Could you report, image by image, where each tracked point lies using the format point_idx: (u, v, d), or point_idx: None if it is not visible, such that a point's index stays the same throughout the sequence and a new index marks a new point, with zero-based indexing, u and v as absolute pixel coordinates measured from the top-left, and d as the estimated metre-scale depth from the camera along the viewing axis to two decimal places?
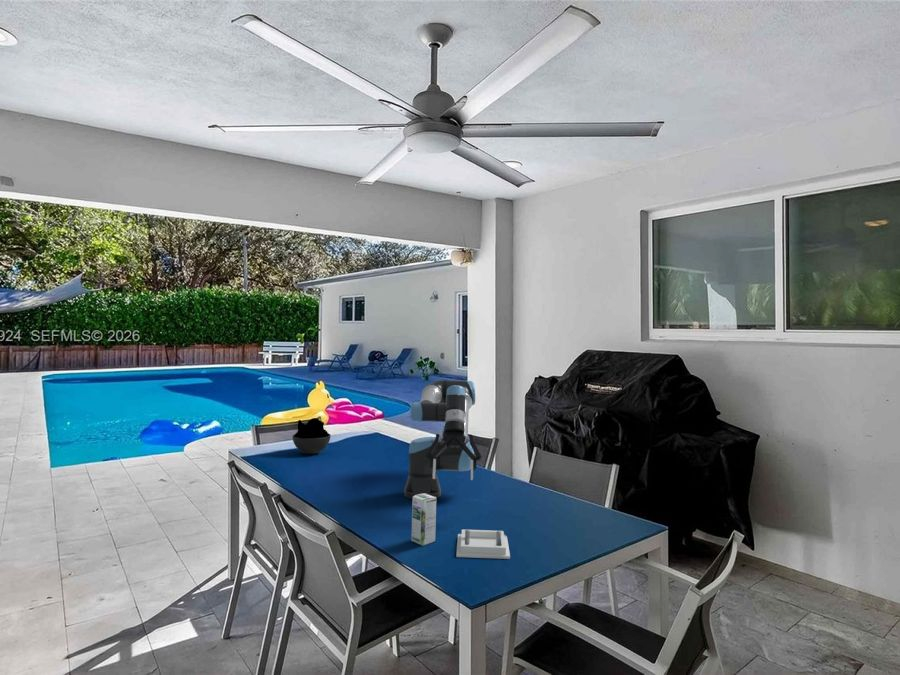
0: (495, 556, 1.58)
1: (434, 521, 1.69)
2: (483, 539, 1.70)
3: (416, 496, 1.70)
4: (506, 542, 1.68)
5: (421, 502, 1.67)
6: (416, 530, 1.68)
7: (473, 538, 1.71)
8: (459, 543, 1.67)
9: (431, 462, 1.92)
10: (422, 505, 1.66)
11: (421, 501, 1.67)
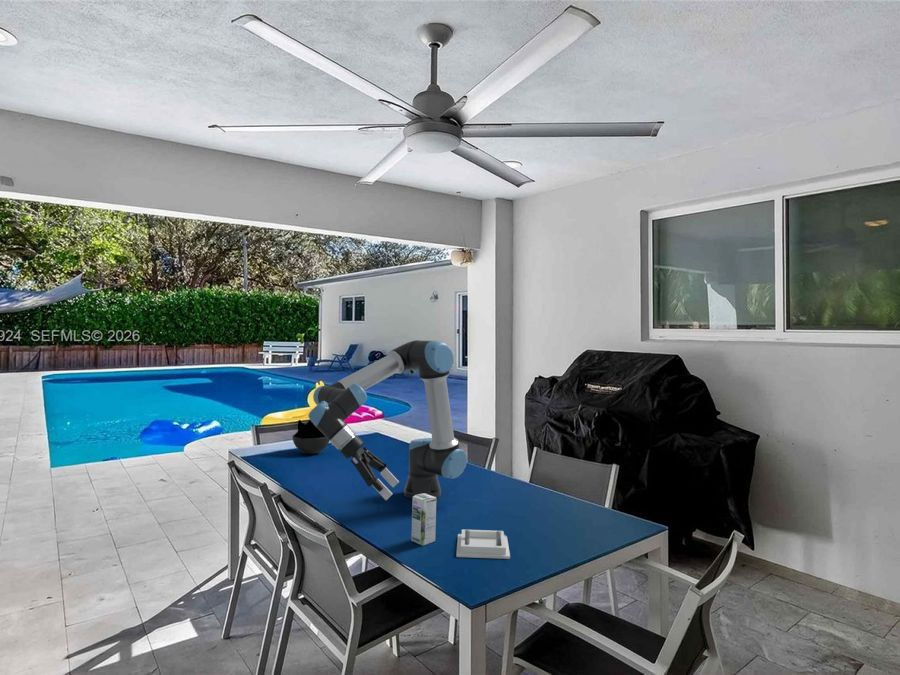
0: (495, 556, 1.58)
1: (434, 521, 1.69)
2: (483, 539, 1.70)
3: (416, 496, 1.70)
4: (506, 542, 1.68)
5: (421, 502, 1.67)
6: (416, 530, 1.68)
7: (473, 538, 1.71)
8: (459, 543, 1.67)
9: None
10: (422, 505, 1.66)
11: (421, 501, 1.67)
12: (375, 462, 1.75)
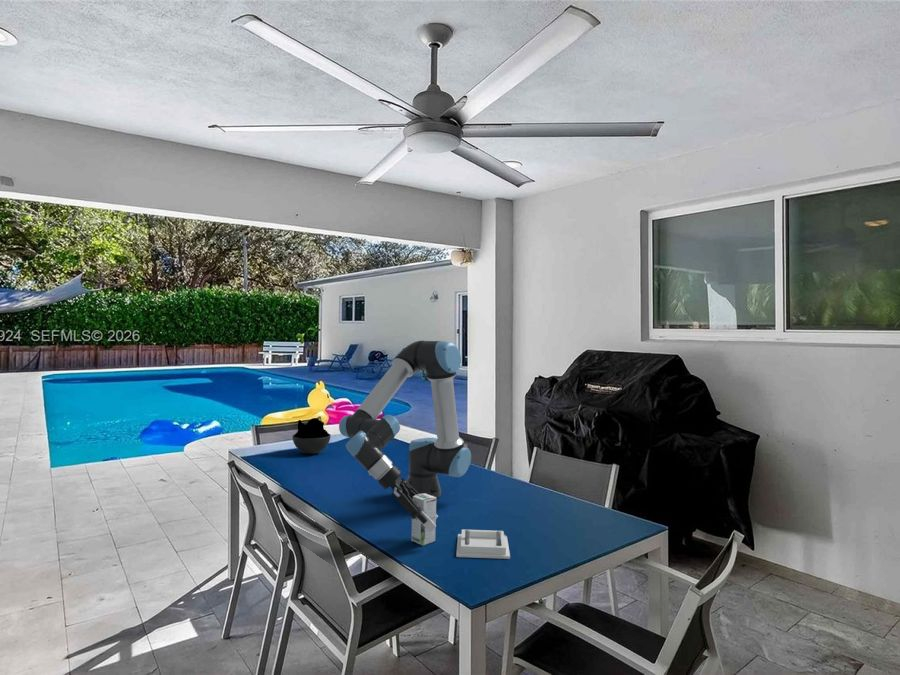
0: (495, 556, 1.58)
1: (434, 521, 1.69)
2: (483, 539, 1.70)
3: (416, 496, 1.70)
4: (506, 542, 1.68)
5: (421, 502, 1.67)
6: (416, 530, 1.68)
7: (473, 538, 1.71)
8: (459, 543, 1.67)
9: None
10: (422, 505, 1.66)
11: (421, 501, 1.67)
12: (413, 494, 1.73)
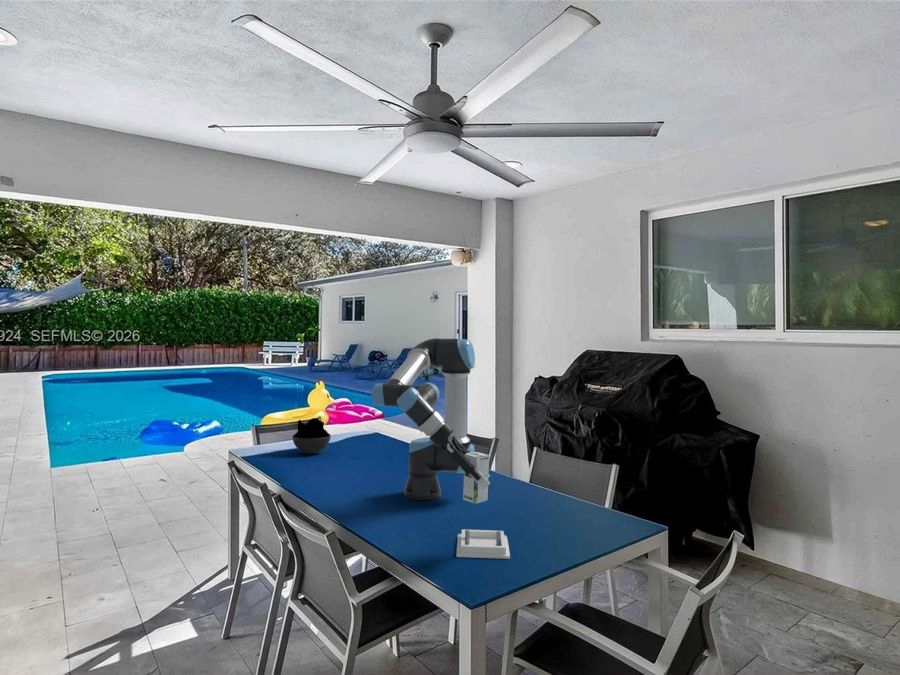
0: (495, 556, 1.58)
1: (487, 479, 1.65)
2: (483, 539, 1.70)
3: (468, 454, 1.65)
4: (506, 542, 1.68)
5: (474, 460, 1.62)
6: (469, 488, 1.64)
7: (473, 538, 1.71)
8: (459, 543, 1.67)
9: None
10: (475, 462, 1.62)
11: (474, 458, 1.62)
12: (464, 452, 1.69)
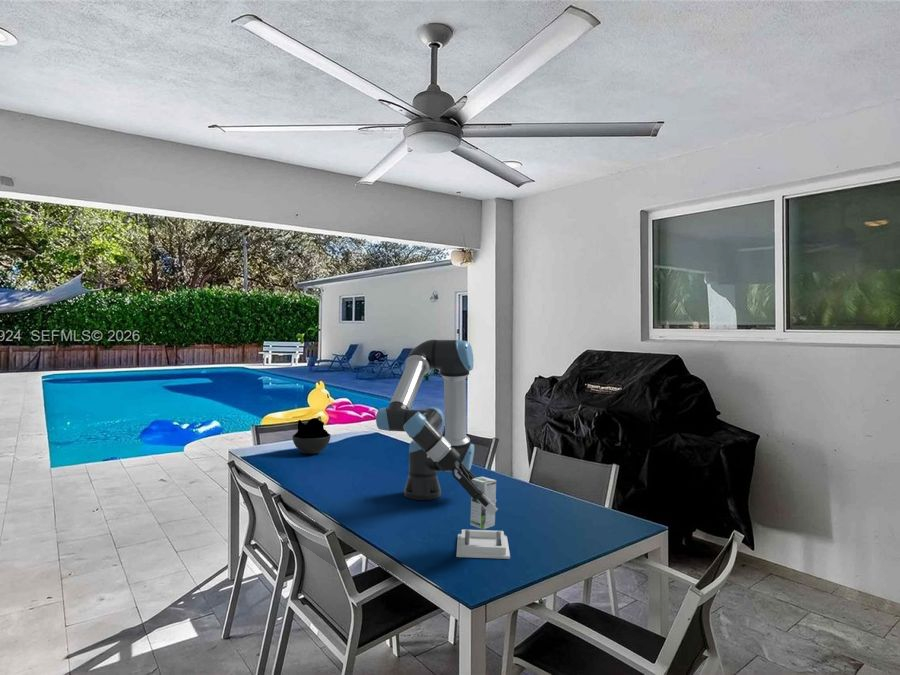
0: (495, 556, 1.58)
1: (494, 505, 1.65)
2: (483, 539, 1.70)
3: (475, 479, 1.65)
4: (506, 542, 1.68)
5: (482, 485, 1.62)
6: (476, 514, 1.63)
7: (473, 538, 1.71)
8: (459, 543, 1.67)
9: None
10: (483, 488, 1.62)
11: (481, 484, 1.62)
12: (471, 477, 1.69)
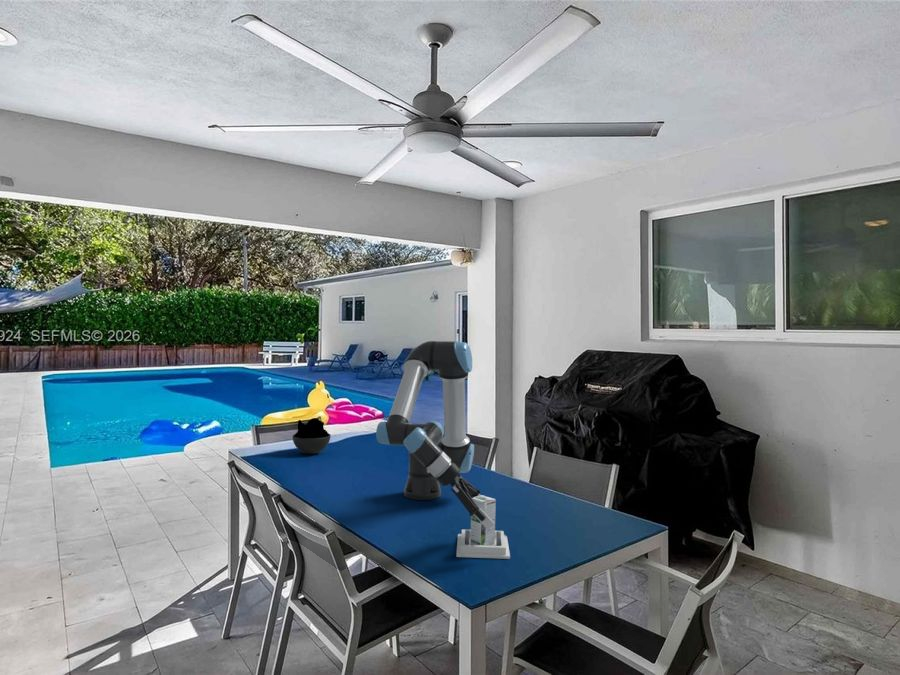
0: (495, 556, 1.58)
1: None
2: None
3: (475, 498, 1.66)
4: (506, 542, 1.68)
5: (482, 505, 1.63)
6: (476, 533, 1.64)
7: None
8: (459, 543, 1.67)
9: None
10: (482, 507, 1.63)
11: (481, 503, 1.63)
12: (470, 489, 1.71)
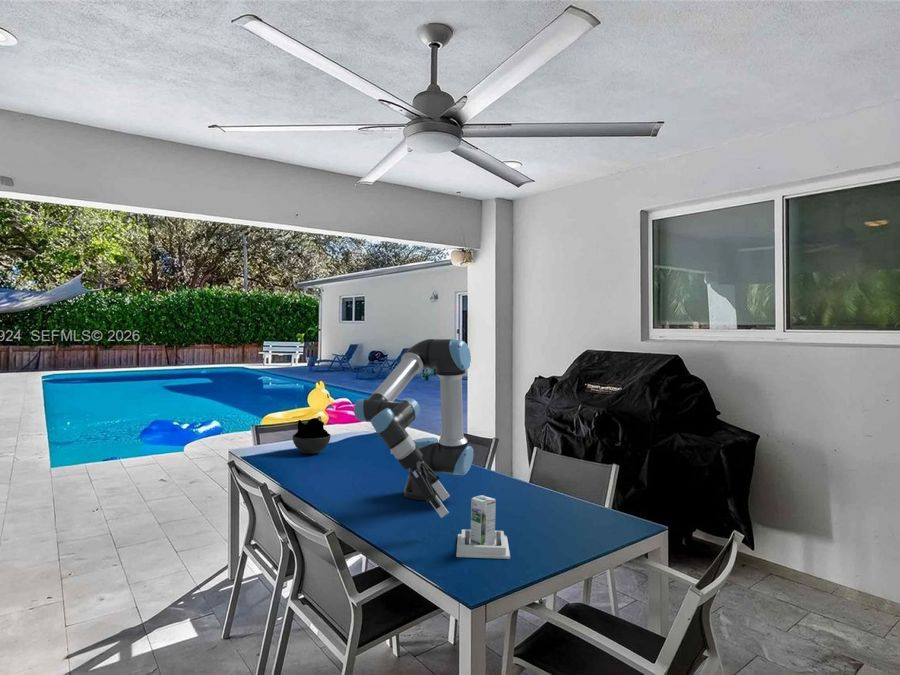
0: (495, 556, 1.58)
1: (494, 523, 1.66)
2: None
3: (475, 498, 1.66)
4: (506, 542, 1.68)
5: (482, 505, 1.63)
6: (476, 533, 1.64)
7: None
8: (459, 543, 1.67)
9: None
10: (482, 507, 1.63)
11: (481, 503, 1.63)
12: (429, 474, 1.73)
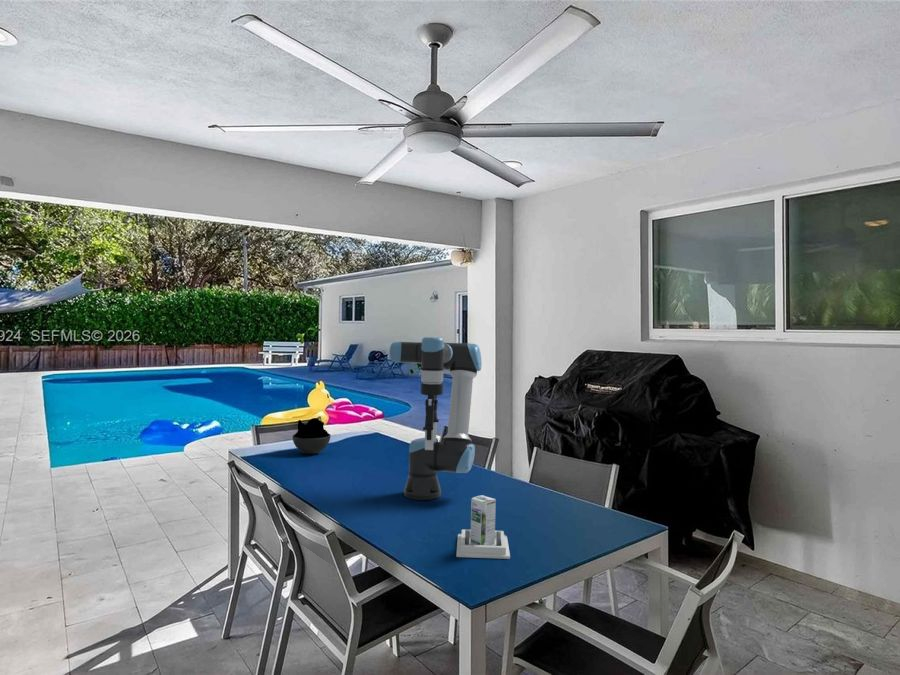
0: (495, 556, 1.58)
1: (494, 524, 1.66)
2: None
3: (475, 498, 1.66)
4: (506, 542, 1.68)
5: (482, 505, 1.63)
6: (476, 533, 1.64)
7: None
8: (459, 543, 1.67)
9: None
10: (482, 507, 1.63)
11: (481, 503, 1.63)
12: (434, 413, 1.84)
